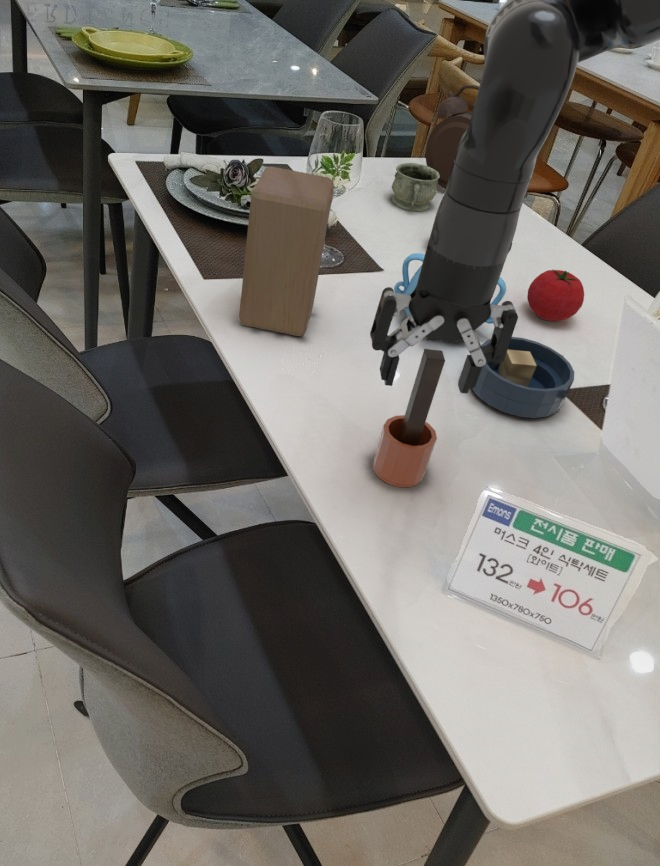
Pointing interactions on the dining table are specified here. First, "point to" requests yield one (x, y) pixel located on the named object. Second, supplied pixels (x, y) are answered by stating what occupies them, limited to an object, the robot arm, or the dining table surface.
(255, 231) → the wooden block
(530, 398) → the bowl
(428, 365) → the stick
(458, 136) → the alarm clock
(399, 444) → the holder
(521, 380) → the block
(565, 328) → the dining table surface
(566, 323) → the dining table surface
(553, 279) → the tomato
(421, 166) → the vessel
